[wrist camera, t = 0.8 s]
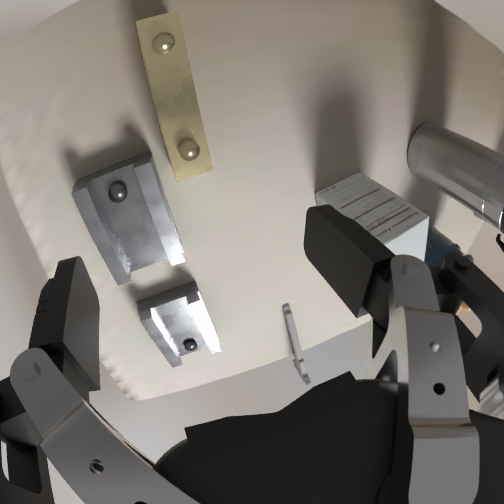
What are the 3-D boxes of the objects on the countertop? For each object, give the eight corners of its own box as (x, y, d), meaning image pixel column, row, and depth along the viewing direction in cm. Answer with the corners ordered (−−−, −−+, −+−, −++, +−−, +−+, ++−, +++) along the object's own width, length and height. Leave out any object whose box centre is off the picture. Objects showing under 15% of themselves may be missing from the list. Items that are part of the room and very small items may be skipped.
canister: (386, 236, 45) (461, 303, 32) (434, 209, 47) (504, 263, 33) (382, 287, 53) (439, 349, 40) (425, 259, 55) (481, 311, 42)
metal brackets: (151, 151, 25) (152, 161, 23) (216, 332, 43) (222, 350, 40) (76, 180, 24) (69, 194, 21) (167, 349, 41) (171, 367, 39)
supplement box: (364, 214, 40) (424, 264, 31) (322, 236, 40) (379, 295, 30) (359, 169, 35) (431, 215, 26) (313, 191, 35) (381, 246, 25)
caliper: (298, 362, 58) (311, 385, 53) (293, 364, 58) (306, 387, 53) (287, 302, 45) (306, 330, 40) (281, 304, 45) (299, 334, 40)
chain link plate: (171, 22, 19) (180, 7, 14) (201, 154, 28) (216, 173, 23) (136, 31, 18) (135, 18, 14) (170, 164, 27) (178, 186, 23)
